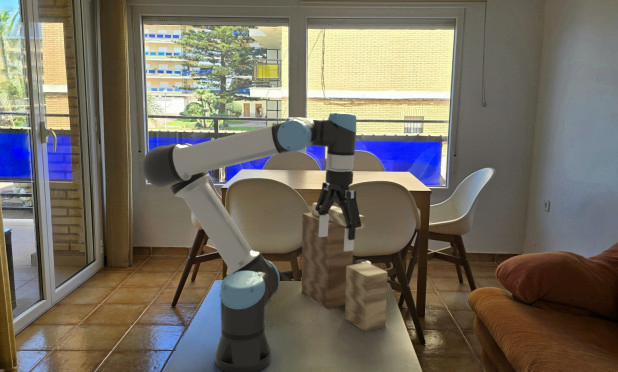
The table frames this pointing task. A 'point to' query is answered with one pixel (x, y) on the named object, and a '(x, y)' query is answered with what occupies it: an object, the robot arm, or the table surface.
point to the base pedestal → (366, 296)
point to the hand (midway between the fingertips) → (335, 243)
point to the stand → (324, 262)
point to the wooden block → (337, 216)
